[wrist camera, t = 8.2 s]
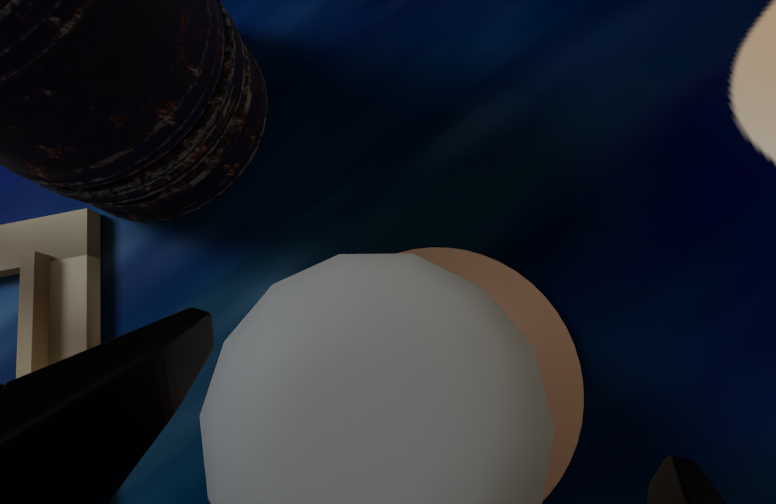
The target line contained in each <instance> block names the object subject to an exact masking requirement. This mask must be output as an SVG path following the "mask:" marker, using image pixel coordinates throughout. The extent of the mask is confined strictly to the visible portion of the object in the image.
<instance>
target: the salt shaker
mask: <svg viewBox="0 0 776 504" xmlns="http://www.w3.org/2000/svg"><path fill="white" fill-rule="evenodd" d="M200 425H201V435H202V444H203V454H204V464H205V473H206V483H207V492H208V499H209V501H210V502H211V504H542V502H543V496H544V490H545V484H546V479H547V473H548V467H549V461H550V455H551V450H552V444H553V438H554V425H553V421H552V417H551V413H550V409H549V405H548V401H547V397H546V393H545V389H544V385H543V381H542V377H541V373H540V369H539V365H538V361H537V357H536V353H535V349H534V347H533V346H532V345H531V343H530V342H529V341H528V340H527V339H526V338H525V336H524V335H523V334H522V333H521V332H520V330H519V329H518V328H517V327H516V326H515V325H514V323H513V322H512V321H511V320H510V319H509V317H508V316H507V315H506V314H505V313H504V311H503V310H502V309H501V308H500V307H499V306H498V304H497V303H496V302H495V301H494V300H493V298H492V297H491V296H490V295H489V294H488V293H487V291H486V290H485V289H484V288H482V287H480V286H478V285H476V284H474V283H472V282H470V281H468V280H466V279H464V278H462V277H460V276H458V275H456V274H454V273H451V272H449V271H447V270H445V269H443V268H441V267H439V266H437V265H435V264H433V263H431V262H429V261H427V260H425V259H423V258H421V257H419V256H417V255H415V254H413V253H407V254H339V255H336V256H334V257H332V258H330V259H328V260H325V261H323V262H321V263H319V264H317V265H314V266H312V267H310V268H308V269H306V270H303V271H301V272H299V273H297V274H294V275H292V276H290V277H288V278H286V279H283V280H281V281H279V282H277V283H275V284H273V285H272V286H271V287H270V288H269V289H268V291H267V292H266V293H265V294H264V295H263V296H262V298H261V299H260V300H259V301H258V302H257V304H256V305H255V306H254V307H253V308H252V309H251V311H250V312H249V313H248V314H247V315H246V317H245V318H244V319H243V320H242V321H241V322H240V324H239V325H238V326H237V327H236V328H235V330H234V331H233V332H232V333H231V334H230V336H229V337H228V338H227V339H226V340H225V341H224V344H223V347H222V350H221V353H220V356H219V359H218V362H217V365H216V368H215V371H214V374H213V377H212V380H211V383H210V386H209V389H208V392H207V395H206V398H205V402H204V405H203V408H202V411H201V414H200Z"/></svg>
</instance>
